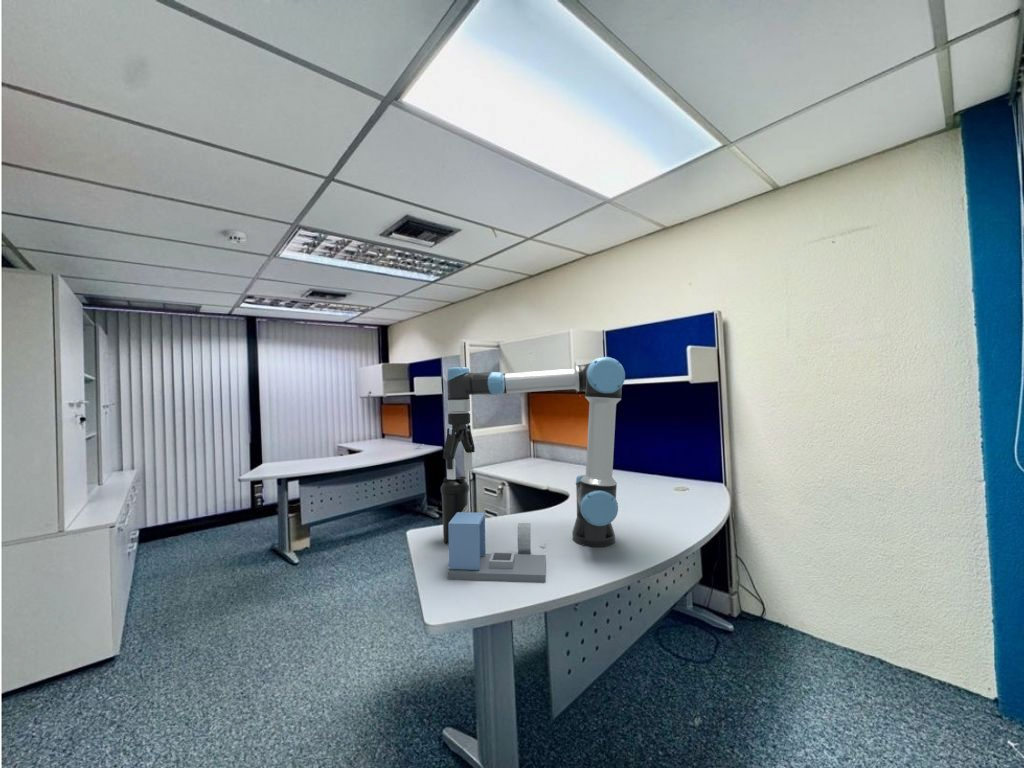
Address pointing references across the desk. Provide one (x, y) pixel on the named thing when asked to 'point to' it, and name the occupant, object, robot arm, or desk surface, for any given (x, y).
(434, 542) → the desk surface
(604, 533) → the robot arm
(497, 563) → the housing base
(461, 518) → the housing cover
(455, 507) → the water bottle
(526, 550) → the steel block
